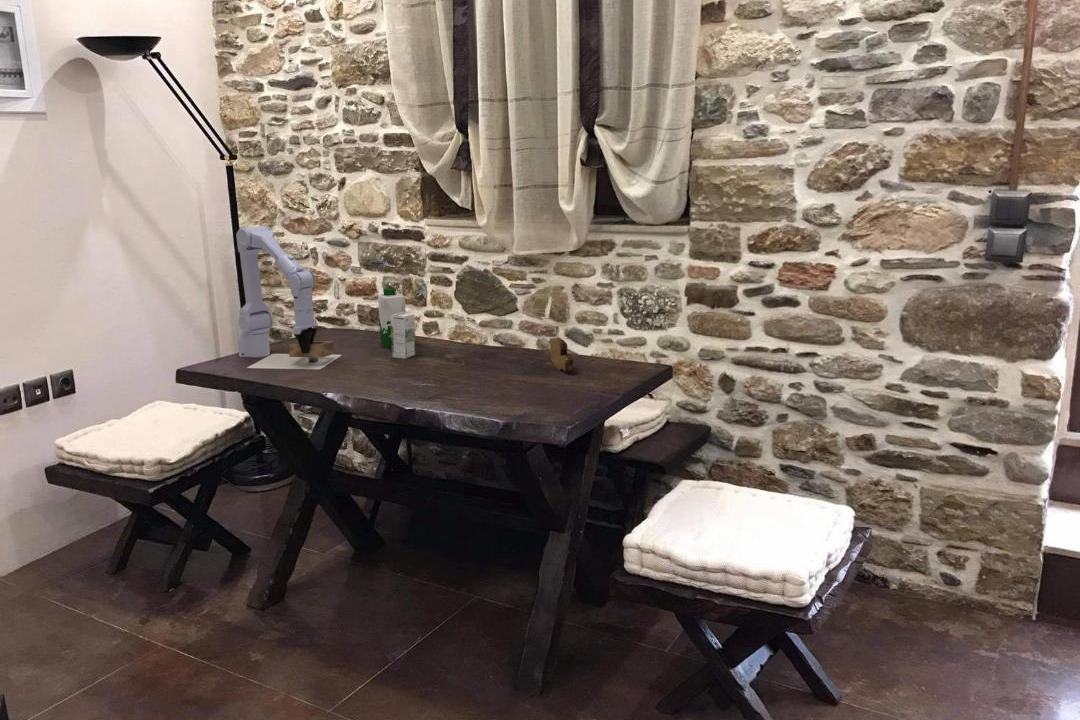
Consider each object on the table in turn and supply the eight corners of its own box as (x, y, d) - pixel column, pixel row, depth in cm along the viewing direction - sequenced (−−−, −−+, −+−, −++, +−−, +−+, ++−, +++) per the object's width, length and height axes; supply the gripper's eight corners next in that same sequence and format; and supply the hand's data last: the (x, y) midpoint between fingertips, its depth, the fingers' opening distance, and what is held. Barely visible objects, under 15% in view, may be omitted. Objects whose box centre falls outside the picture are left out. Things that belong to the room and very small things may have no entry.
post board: (246, 371, 275) (244, 351, 274) (273, 357, 295) (271, 338, 293) (320, 373, 272) (319, 352, 271) (342, 358, 292) (340, 339, 290)
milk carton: (401, 342, 315) (399, 287, 311) (410, 347, 308) (407, 290, 303) (378, 345, 312) (375, 289, 307) (386, 349, 304) (383, 292, 299)
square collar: (289, 357, 277) (288, 344, 276) (302, 353, 288) (302, 341, 287) (322, 357, 276) (322, 344, 275) (335, 353, 286) (334, 341, 286)
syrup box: (401, 354, 297) (399, 311, 294) (416, 355, 294) (414, 313, 291) (391, 357, 292) (389, 314, 289) (406, 359, 289) (404, 316, 286)
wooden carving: (579, 374, 268) (578, 342, 265) (565, 375, 266) (565, 343, 264) (557, 362, 282) (557, 332, 280) (544, 364, 281) (543, 333, 278)
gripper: (307, 314, 266) (310, 357, 269) (324, 305, 280) (327, 347, 283) (285, 313, 267) (288, 357, 270) (303, 305, 281) (306, 347, 284)
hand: (307, 352), depth 277 cm, fingers closed on square collar, 2 cm apart
